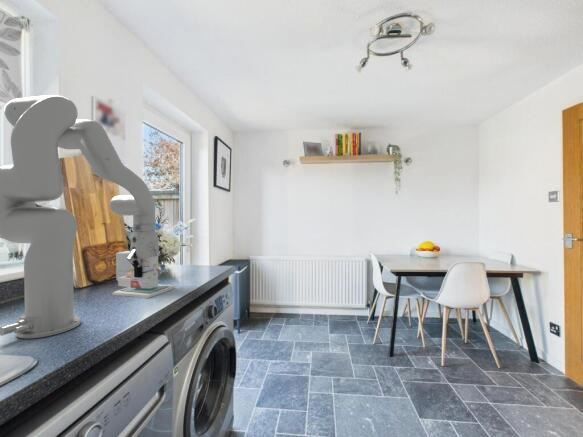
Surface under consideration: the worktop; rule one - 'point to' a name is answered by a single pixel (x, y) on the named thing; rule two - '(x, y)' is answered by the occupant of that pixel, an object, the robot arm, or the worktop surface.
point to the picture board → (144, 291)
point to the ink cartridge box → (146, 273)
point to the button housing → (124, 281)
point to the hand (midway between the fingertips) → (144, 275)
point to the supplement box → (122, 264)
